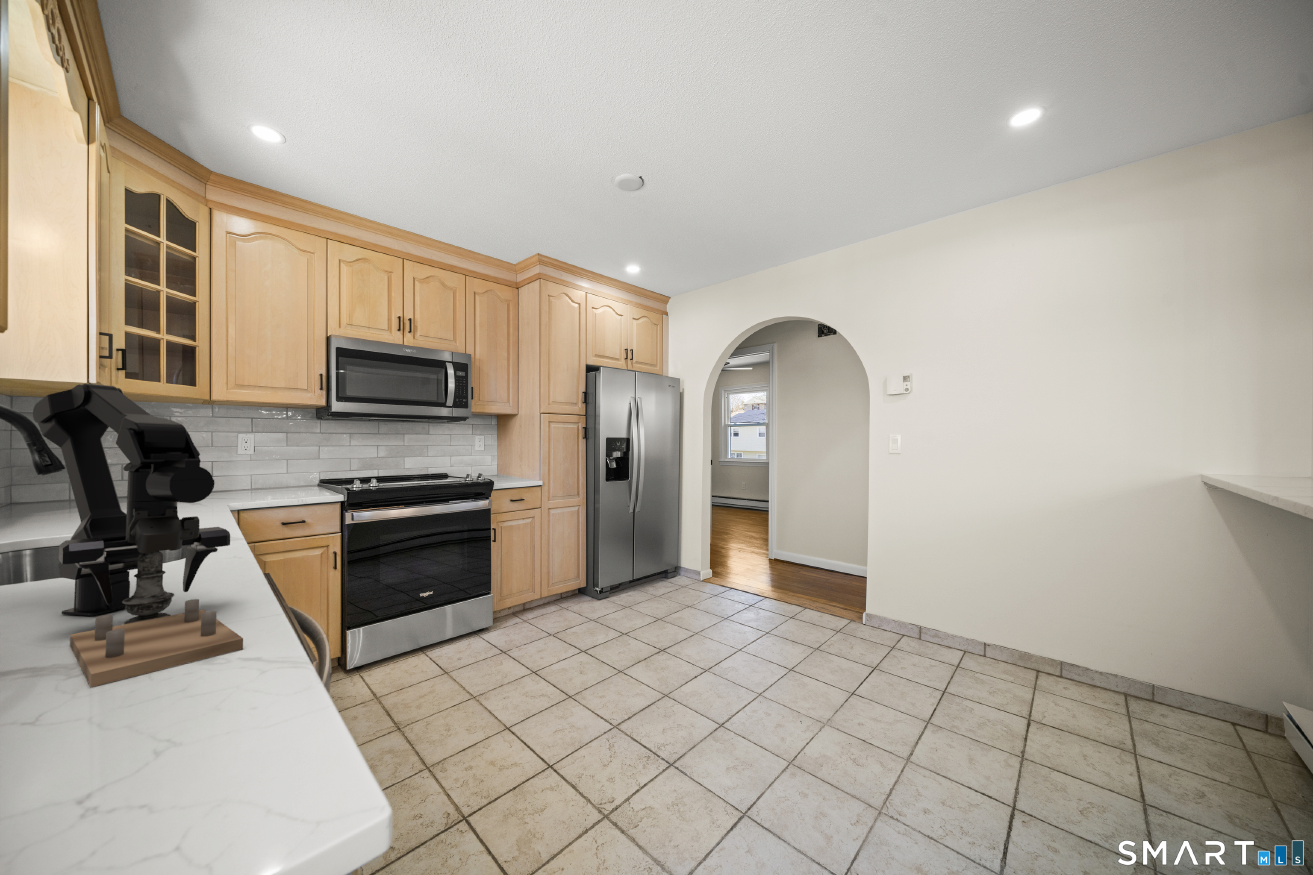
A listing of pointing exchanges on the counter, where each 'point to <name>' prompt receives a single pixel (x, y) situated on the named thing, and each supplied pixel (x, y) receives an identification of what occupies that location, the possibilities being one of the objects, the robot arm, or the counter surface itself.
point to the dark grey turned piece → (148, 590)
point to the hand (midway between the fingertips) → (148, 597)
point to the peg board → (151, 644)
